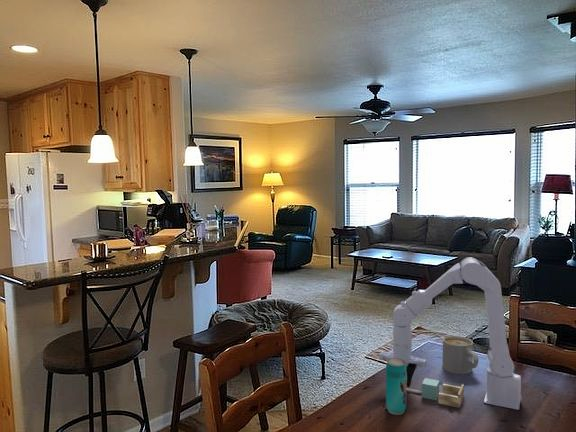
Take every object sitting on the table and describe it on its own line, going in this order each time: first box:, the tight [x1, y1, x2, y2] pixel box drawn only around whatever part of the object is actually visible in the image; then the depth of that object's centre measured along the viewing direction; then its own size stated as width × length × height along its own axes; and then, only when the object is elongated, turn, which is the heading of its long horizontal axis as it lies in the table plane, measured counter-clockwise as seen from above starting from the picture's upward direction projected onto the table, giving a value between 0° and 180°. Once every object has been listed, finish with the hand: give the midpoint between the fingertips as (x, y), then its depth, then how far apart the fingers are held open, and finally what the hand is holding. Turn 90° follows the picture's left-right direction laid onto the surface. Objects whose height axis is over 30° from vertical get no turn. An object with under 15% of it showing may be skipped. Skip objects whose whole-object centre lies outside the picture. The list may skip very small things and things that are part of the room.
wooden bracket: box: [437, 383, 465, 408], centre depth 144 cm, size 6×8×4 cm
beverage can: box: [385, 358, 407, 416], centre depth 137 cm, size 6×6×15 cm
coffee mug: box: [441, 335, 479, 375], centre depth 165 cm, size 13×10×10 cm
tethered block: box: [406, 377, 440, 401], centre depth 149 cm, size 12×4×6 cm, turn 62°
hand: (402, 384), depth 151 cm, fingers open, 4 cm apart
